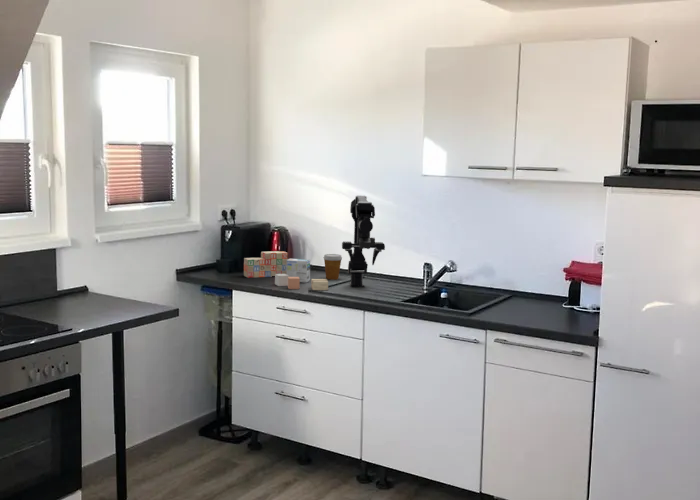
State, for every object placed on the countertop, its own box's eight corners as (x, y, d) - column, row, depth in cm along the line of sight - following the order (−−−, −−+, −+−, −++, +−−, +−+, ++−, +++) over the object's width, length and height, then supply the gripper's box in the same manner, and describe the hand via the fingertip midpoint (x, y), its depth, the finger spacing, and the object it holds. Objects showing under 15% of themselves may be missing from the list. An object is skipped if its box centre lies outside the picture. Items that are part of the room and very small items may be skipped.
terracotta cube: (287, 287, 362) (287, 276, 361) (298, 287, 363) (298, 276, 362) (288, 289, 357) (288, 278, 356) (299, 289, 358) (299, 278, 357)
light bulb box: (310, 280, 381) (310, 259, 380) (307, 282, 375) (307, 261, 373) (289, 279, 383) (289, 258, 382) (285, 281, 377) (286, 259, 375)
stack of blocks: (247, 278, 384) (247, 253, 382) (243, 276, 389) (243, 252, 388) (287, 276, 393) (287, 252, 391) (283, 274, 398) (283, 250, 397)
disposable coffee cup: (335, 276, 395) (336, 253, 394) (345, 279, 387) (345, 256, 385) (319, 277, 390) (320, 254, 389) (328, 280, 382) (329, 256, 381)
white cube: (274, 284, 368) (275, 274, 367) (284, 284, 370) (284, 273, 369) (278, 286, 363) (278, 275, 363) (288, 285, 365) (288, 275, 365)
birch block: (311, 287, 363) (311, 279, 362) (325, 287, 364) (326, 279, 363) (313, 290, 356) (313, 281, 355) (327, 290, 357) (328, 281, 356)
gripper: (344, 231, 332) (343, 267, 334) (387, 232, 333) (385, 268, 335) (342, 228, 343) (341, 263, 345) (383, 229, 344) (382, 264, 346)
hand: (362, 264), depth 343 cm, fingers open, 9 cm apart
